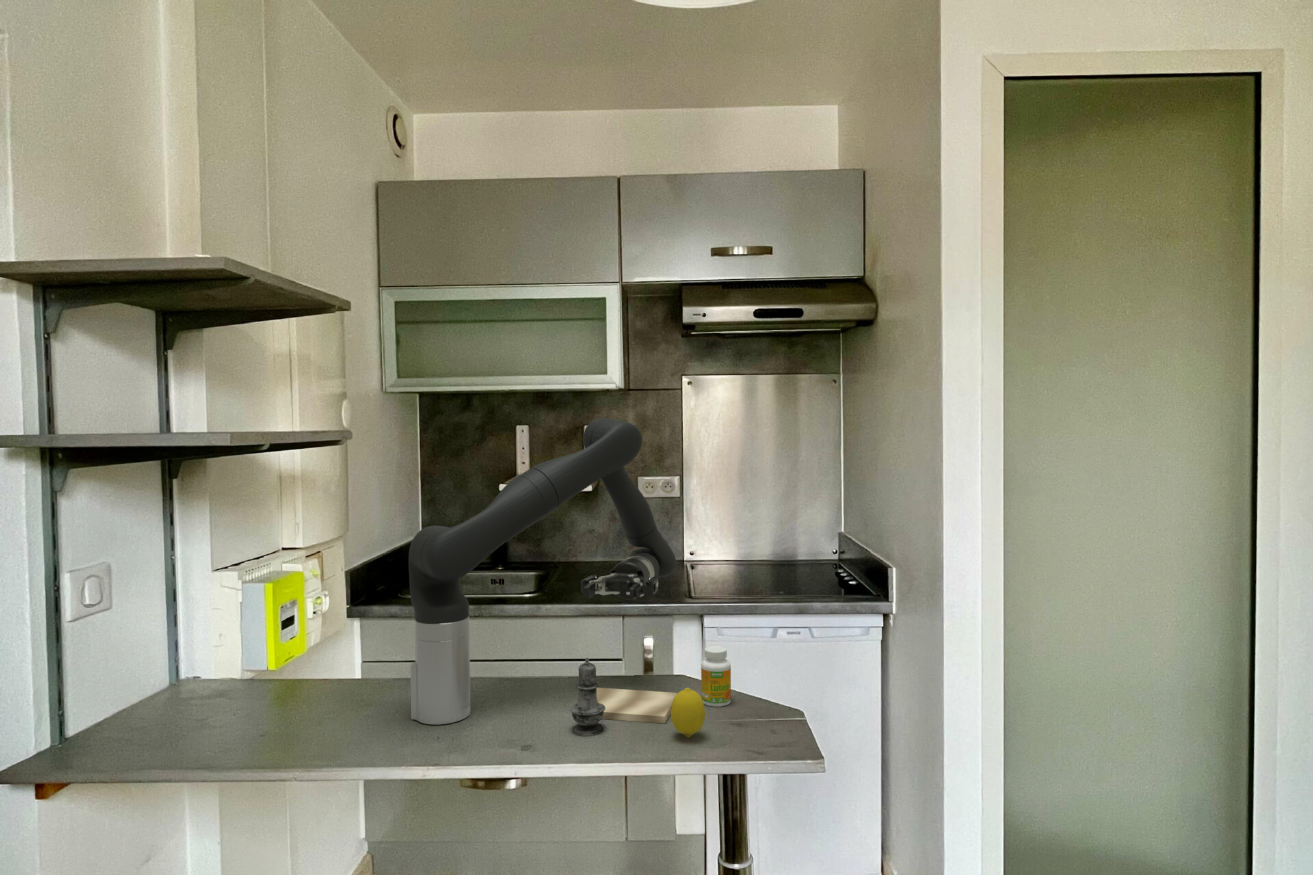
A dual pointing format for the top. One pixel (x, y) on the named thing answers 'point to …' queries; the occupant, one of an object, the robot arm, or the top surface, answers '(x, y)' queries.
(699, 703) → the lemon
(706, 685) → the supplement bottle
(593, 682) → the salt shaker
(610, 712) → the birch board
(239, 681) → the top surface
